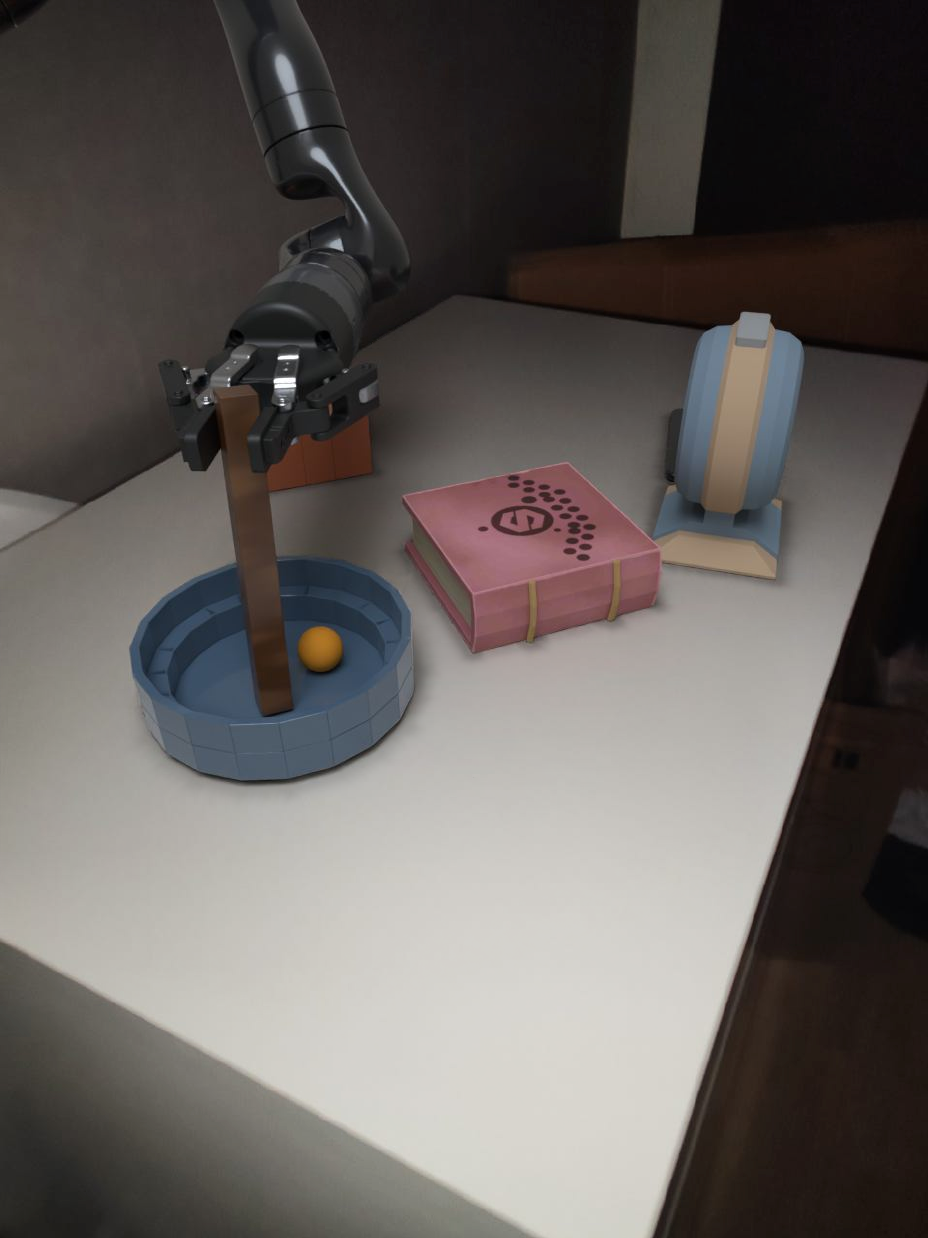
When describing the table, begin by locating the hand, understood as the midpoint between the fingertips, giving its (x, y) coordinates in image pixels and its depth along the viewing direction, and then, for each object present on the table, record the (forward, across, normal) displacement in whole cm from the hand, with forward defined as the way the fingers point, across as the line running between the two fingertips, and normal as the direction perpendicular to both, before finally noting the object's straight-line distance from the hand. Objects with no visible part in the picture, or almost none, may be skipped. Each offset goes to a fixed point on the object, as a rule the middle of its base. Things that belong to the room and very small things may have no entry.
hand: (225, 455), depth 47 cm
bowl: (-3, 0, +18) cm, 19 cm away
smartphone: (-40, +32, +19) cm, 55 cm away
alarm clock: (-25, +31, +19) cm, 44 cm away
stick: (0, 0, +18) cm, 18 cm away
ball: (-5, +2, +16) cm, 17 cm away
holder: (-36, -6, +18) cm, 40 cm away
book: (-17, +16, +19) cm, 29 cm away
